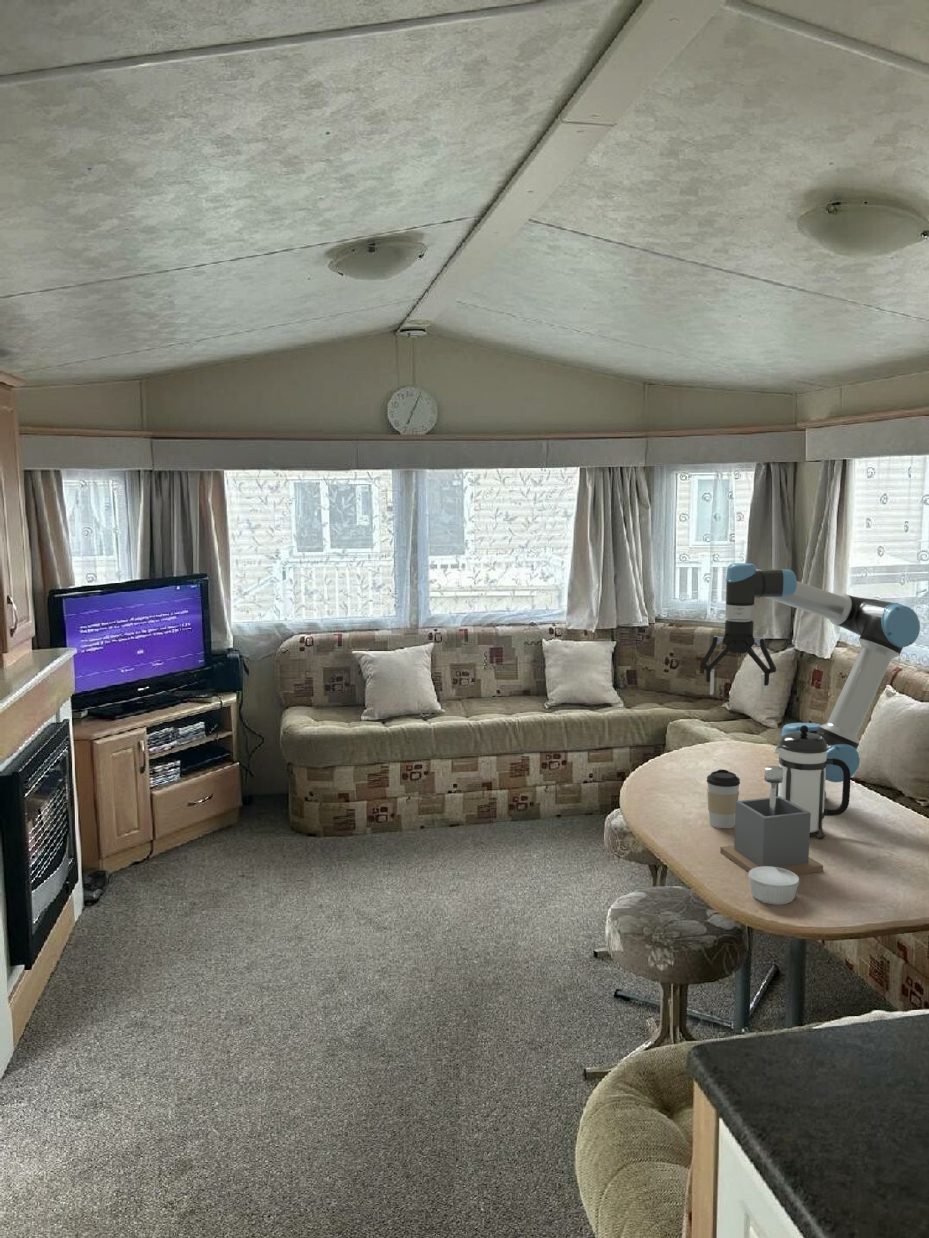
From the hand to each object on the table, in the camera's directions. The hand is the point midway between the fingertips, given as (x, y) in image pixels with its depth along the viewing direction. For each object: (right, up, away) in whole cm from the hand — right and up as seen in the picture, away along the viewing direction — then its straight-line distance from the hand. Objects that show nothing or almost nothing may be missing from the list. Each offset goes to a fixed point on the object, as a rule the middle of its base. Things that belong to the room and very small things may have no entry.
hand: (736, 695), depth 267 cm
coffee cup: (-3, -37, +3) cm, 37 cm away
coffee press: (+18, -37, -2) cm, 42 cm away
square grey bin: (+2, -41, -23) cm, 47 cm away
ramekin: (-4, -44, -43) cm, 61 cm away
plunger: (+2, -37, -23) cm, 44 cm away
